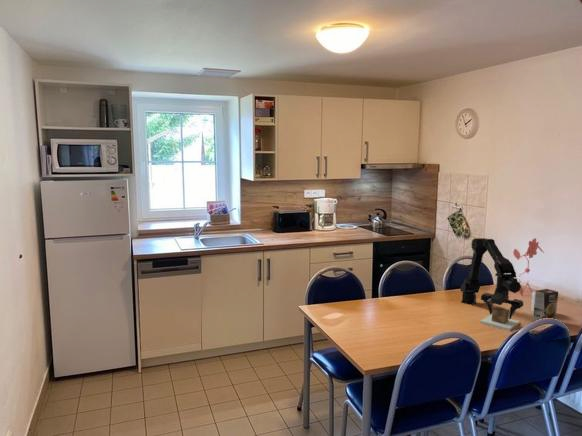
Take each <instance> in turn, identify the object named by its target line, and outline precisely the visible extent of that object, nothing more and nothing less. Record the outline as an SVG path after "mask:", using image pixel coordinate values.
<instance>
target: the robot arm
mask: <svg viewBox="0 0 582 436" xmlns="http://www.w3.org/2000/svg"><path fill="white" fill-rule="evenodd" d="M471 249H472V251H473V253H472V258H471V263H470V268H469V272H468V275H467V276H466V277H465V278H464V280H463V283H462V284H461V286H459V287H460V288H459V290H460V292H462V298H461V299H462V300H460V302H461V303H465V304H469V305H474V304H476V303H477V294H478V293H479V291H480V288H481V284H482V283H481V281H480V279H479V274H480V269H481V265H482V262H483V261H482V260H483V257H484V254H485V253H487V252H488V253H489V255H490V257H491V259H492V260H493V262H494V264H493V267H494V270H495V271H496V273H495V277H496V288H494V289H495V290H494V293H489V292H484V293H482V294H481V295H480V300H481V301H483V303H484V304H486V306H487V308H488V312H489V315H491V314H492V309H494V304H495V305H498V306H501V305H503V304H509V305H510V309H509V319H513V316H514V314H515V312H516V310H518V309H521V308H522V307H523V306H524V301H523V300H521V299H516V298H514V299H513V300H512V299H510V296H509V295H510V293H509V292H511V293H514V294H516V293H518V292H519V290H520V288H521V287H522V285H521V282H520V281H518V278H517V272H516V270H515V269H514V268H515V267H514V265H513V263H512V262H511V261H510V260H509V259H508V258H506V257H504V256H503V254H502V252H501V251H500V249H499V248H498V245H497V244H496V242H495V240H494V239H493V238H485V237H484V238H482V237H479V238H473V239H472V240H471ZM476 293H477V294H476Z"/></svg>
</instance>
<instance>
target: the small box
mask: <svg viewBox="0 0 582 436" xmlns="http://www.w3.org/2000/svg"><path fill="white" fill-rule="evenodd" d="M535 293H536V291H532V293H531V303H530V304H531V306H530V311H531V312H532V313H534V303H535Z"/></svg>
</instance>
